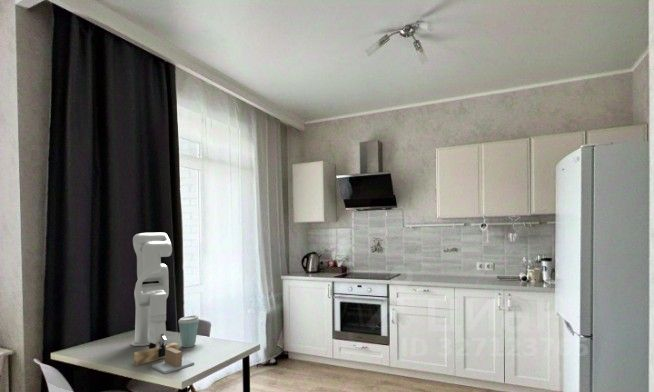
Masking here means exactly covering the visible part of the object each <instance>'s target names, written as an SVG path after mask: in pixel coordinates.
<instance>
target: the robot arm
mask: <svg viewBox="0 0 654 392" xmlns="http://www.w3.org/2000/svg"><path fill="white" fill-rule="evenodd" d="M132 245H133V250H134V252H135V254H136V275H137V277H136V278H137V281H136V283H135V286H134V292H133V295H134V302H135V318H134V319H135V320H134V322H135V324H134V328H135V329H134V340H132V341H131V346H133V347H146V346H148V349H151V348H155V347H157V346H158V347H159V349H158V357H163V356H165V349H166V345H167V344H168V339H167V326H166V325H167V324H166V321H167V299H168V297H169V293H170V292H169V291H170V289H169V282H170V281H169V280H170V279H169V267H168V265H166V264H165V263H162V261H161V260H162V258H164V257H165V258H166V257H170V256H172V252H173V247H172V246H173V245H172V242H171V239H170V238H169V236H168V234H167V233H166V232H140V233H136V234H135V235H134V236H133V237H132ZM157 281H158V282H157ZM143 282H144V283H145V282H155V283H145V284H143ZM156 282H157V283H156Z"/></svg>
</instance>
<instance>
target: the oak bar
mask: <svg viewBox="0 0 654 392" xmlns="http://www.w3.org/2000/svg"><path fill="white" fill-rule="evenodd" d="M170 347H172V348H174V349H177V350H179V348H180V347H179V343H176V341H175V342H171V343H166V348H170ZM158 349H159V346H156V347H155V348H151V349H149V348H148V349H143V350H140V351H136V352H133V364H134V365H135V366H140V365H143V364H146V363H150V362H153V361H154V362H155V361H157V360H161V359H165V356H163V357H158Z"/></svg>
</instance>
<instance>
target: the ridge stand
mask: <svg viewBox="0 0 654 392" xmlns="http://www.w3.org/2000/svg"><path fill="white" fill-rule="evenodd" d="M191 366H195V362H194V361H193V360H190V359H187V358H186V357H183V351H182V350H179V349H178V350H177V349H174V348H172V347H170V348H166V349H165V358H164V361H162V362H157V363H155V364H154V363H153V364H152V365H151V368H152V369H154V370H157V371H159V372H160V373H162V374H165V375H166V374H169V373H172V372H175V371H179V370H181V369H185V368H189V367H191Z"/></svg>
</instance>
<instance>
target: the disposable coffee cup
mask: <svg viewBox="0 0 654 392" xmlns="http://www.w3.org/2000/svg"><path fill="white" fill-rule="evenodd" d="M199 321H200V318H199V315H197V314H196V315H188V316H184V317H180V318H179V320H178V328H179V329H178V330H179V334H180V342H181V347H183V348H190V347H192V348H193V347H194V346H195V345H196V340H197V336H198V329H199Z"/></svg>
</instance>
